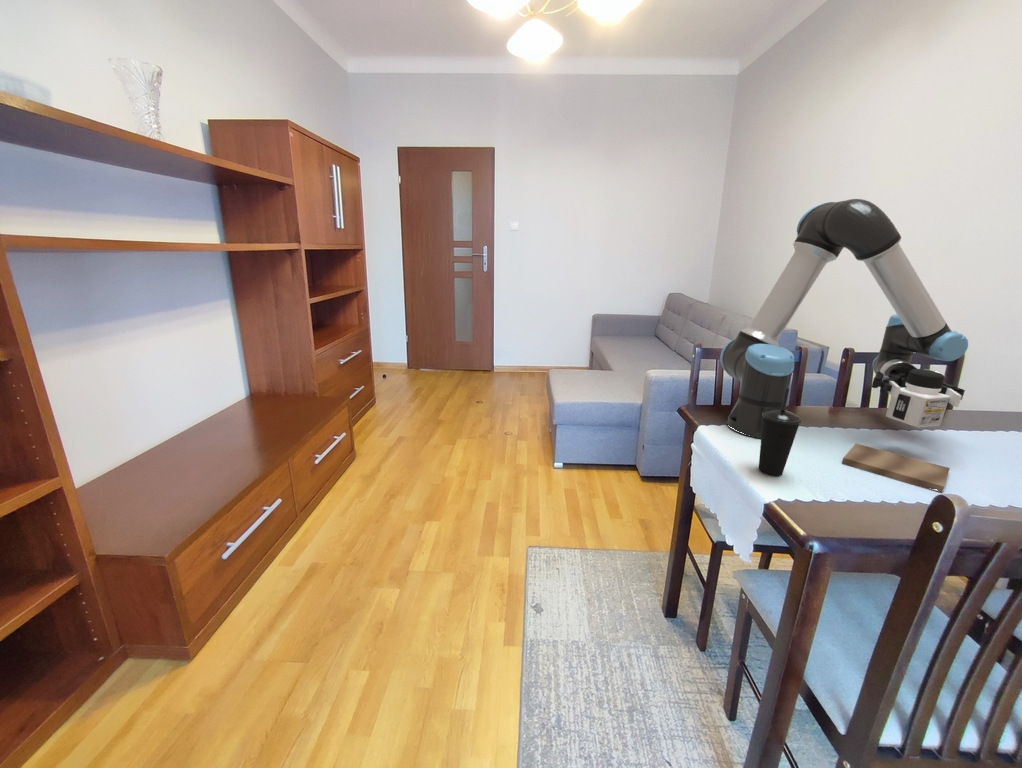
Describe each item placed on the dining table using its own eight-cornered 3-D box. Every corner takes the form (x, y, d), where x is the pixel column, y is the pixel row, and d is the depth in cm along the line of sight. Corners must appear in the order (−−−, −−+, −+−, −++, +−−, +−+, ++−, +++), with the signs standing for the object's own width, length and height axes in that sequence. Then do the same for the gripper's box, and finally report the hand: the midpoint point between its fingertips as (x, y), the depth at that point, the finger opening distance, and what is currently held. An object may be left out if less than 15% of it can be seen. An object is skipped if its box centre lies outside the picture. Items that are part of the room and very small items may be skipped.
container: (917, 428, 109) (934, 375, 105) (884, 416, 116) (899, 367, 112) (940, 426, 111) (958, 374, 107) (907, 414, 118) (922, 366, 114)
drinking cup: (779, 465, 108) (797, 384, 102) (795, 480, 101) (815, 394, 95) (746, 462, 109) (761, 382, 103) (759, 478, 102) (777, 392, 96)
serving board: (841, 463, 110) (843, 457, 109) (854, 448, 118) (855, 443, 118) (941, 492, 97) (943, 486, 97) (947, 473, 106) (949, 468, 105)
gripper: (950, 395, 123) (986, 421, 104) (847, 381, 133) (863, 402, 114) (959, 368, 121) (997, 390, 102) (853, 356, 130) (871, 373, 112)
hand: (926, 396), depth 108 cm, fingers closed on container, 10 cm apart
